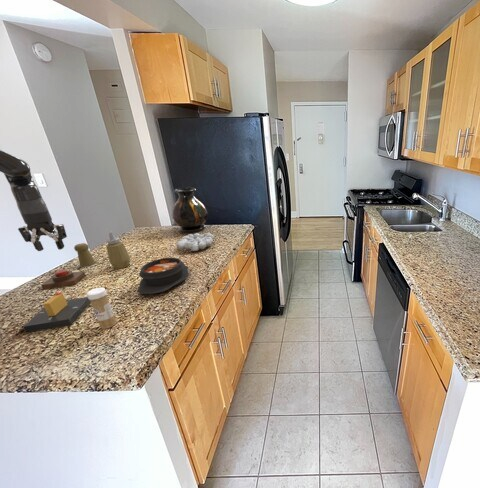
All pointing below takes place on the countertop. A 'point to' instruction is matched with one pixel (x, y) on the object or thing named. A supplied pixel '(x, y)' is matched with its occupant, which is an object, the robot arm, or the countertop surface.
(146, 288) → the casserole
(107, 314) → the sprinkles bottle
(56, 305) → the yellow cheese wedge
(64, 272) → the button
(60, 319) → the dark slate board
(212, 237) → the grey lumpy cluster
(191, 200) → the dark glazed vase
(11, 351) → the countertop surface
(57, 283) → the button block
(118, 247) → the squeeze bottle
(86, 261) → the green pepper mill
